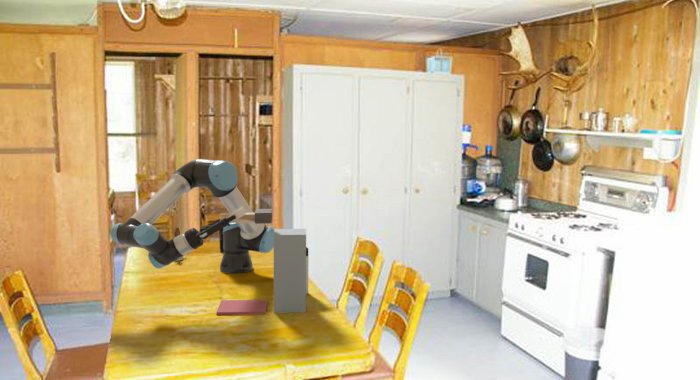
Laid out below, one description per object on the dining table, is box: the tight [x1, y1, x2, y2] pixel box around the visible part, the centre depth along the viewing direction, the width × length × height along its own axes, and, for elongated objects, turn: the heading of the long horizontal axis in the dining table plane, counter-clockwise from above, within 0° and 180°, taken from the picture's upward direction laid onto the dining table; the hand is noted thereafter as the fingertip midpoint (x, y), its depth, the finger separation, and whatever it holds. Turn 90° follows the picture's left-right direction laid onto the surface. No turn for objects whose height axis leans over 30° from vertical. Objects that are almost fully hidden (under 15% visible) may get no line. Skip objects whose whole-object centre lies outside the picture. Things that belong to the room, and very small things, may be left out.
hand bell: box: [174, 226, 187, 262], centre depth 285 cm, size 8×8×16 cm
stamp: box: [219, 208, 273, 225], centre depth 214 cm, size 8×19×4 cm, turn 95°
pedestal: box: [273, 228, 307, 314], centre depth 219 cm, size 10×12×30 cm
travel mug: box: [306, 246, 309, 296], centre depth 236 cm, size 6×7×20 cm
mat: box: [215, 299, 268, 316], centre depth 220 cm, size 13×18×1 cm
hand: (243, 210), depth 214 cm, fingers closed on stamp, 3 cm apart
